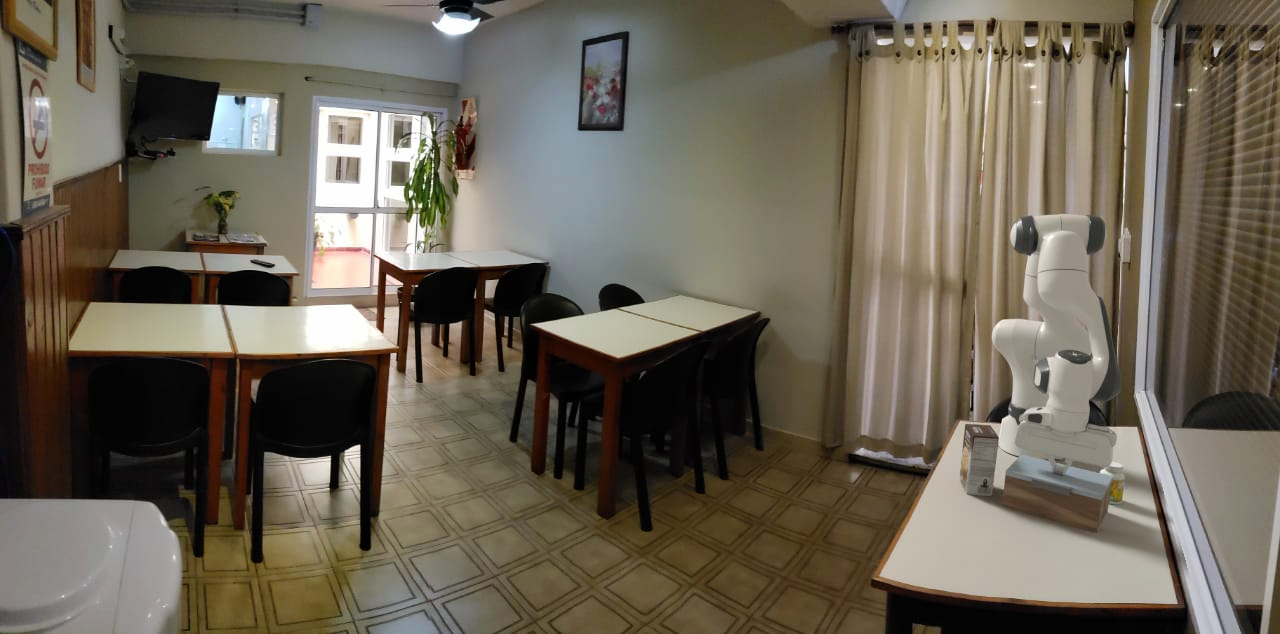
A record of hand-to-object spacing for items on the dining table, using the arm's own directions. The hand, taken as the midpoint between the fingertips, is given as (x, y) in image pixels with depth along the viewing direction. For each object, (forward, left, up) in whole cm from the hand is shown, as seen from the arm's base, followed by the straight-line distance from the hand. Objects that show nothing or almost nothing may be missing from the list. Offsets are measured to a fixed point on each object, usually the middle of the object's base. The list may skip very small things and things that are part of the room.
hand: (1058, 473), depth 171 cm
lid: (0, 0, -2) cm, 2 cm away
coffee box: (+1, -18, -10) cm, 20 cm away
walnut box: (0, 0, -9) cm, 9 cm away
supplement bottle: (-15, +9, -10) cm, 20 cm away
